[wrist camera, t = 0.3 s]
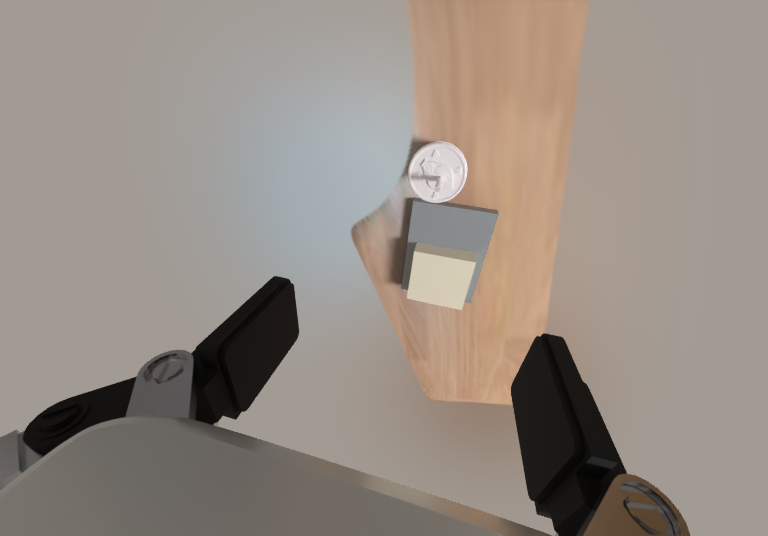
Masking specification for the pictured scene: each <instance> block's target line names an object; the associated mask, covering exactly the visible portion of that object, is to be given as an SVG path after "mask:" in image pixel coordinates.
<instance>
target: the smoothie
mask: <svg viewBox="0 0 768 536" xmlns="http://www.w3.org/2000/svg"><path fill="white" fill-rule="evenodd" d="M466 177H467V162H466V160H465V157H464V155H463V154H462V152H461V151H460V150H459V149H458V148H457V147H455V146H454V145H453V144H450V143H447V142H444V141H435V142H431V143H428V144H426V145H424V146H423V147H421V148H420V149H419V150H418V151H417V152H416V153H415V154H414V156H413V158H412V159H411V162H410V165H409V168H408V180H409V184H410V186H411V188H412V190H413V192H414V193H415V194H416V195H417V196H418V197H419V198H421V199H422V200H424V201H427V202H431V203H441V202H445V201H448V200H450V199H452V198H453V197H455V196H456V195H457V194H458V193H459V192H460V191H461V189H462V188H463V186H464V184H465V181H466Z"/></svg>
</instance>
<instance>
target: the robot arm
mask: <svg viewBox="0 0 768 536" xmlns="http://www.w3.org/2000/svg"><path fill="white" fill-rule="evenodd" d="M298 335H299V326H298V317H297V309H296V300H295V291H294V285H293V284H292V283H291V282H290V280H289V279H287V278H282V277H277V276H275V277H273V278H272V279H270V280H269V281H268V282H267V283H266V284H265V285H264V286H263V287H262V288H261V289H259V290H258V291H257V292H256V293H255V294H254V295H253V296H252V297H251V298H250V299H249V300H247V301H246V302H245V303H244V304H243V305H242V306H241V307H240V308H239V309H237V310H236V311H235V312H234V313H233V314H232V315H231V316H230V317H229V318H228V319H227V320H225V321H224V322H223V323H222V324H221V325H220V326H219V327H218V328H217V329H216V330H214V331H213V332H212V333H211V334H210V335H209V336H208V337H207V338H206V339H205V340H203V341H202V342H201V343H200V344H199V345H198V346H197V347H196V349H195V350H194V351H193V352H192V353H190V352H187V351H185V350H173V351H168V352H165V353H162V354H160V355H158V356H156V357H154V358H153V359H151V360H150V361H148V362H147V363H146V364H145V365H144V366H143V367H142V368H141V369H140V371H139V373H138V375H137V377H134V378H131V379H128V380H125V381H122V382H118V383H115V384H112V385H109V386H106V387H103V388H100V389H96V390H93V391H90V392H87V393H84V394H81V395H77V396H74V397H71V398H68V399H66V400H63V401H60V402H58V403H56V404H55V405H53V406H51V407H49V408H47V409H46V410H45V411H43V412H42V413H40V414H39V415H38V416H37V417H36V418H35V419H34V420H33V421H32V422H31V423H30V424H29V425H28V426H27V428H26V430H25V431H23V432H21V433H20V432H19V431H17V430H15V431H13V432H11V433H9V434H7V435H5V436H3V437H0V536H551V535H549V534H546V533H544V532H541V531H538V530H535V529H532V528H529V527H526V526H524V525H520V524H518V523H515V522H512V521H509V520H506V519H503V518H501V517H497V516H494V515H492V514H489V513H486V512H483V511H480V510H477V509H474V508H471V507H468V506H465V505H462V504H459V503H456V502H453V501H450V500H447V499H444V498H440V497H437V496H434V495H431V494H428V493H425V492H422V491H419V490H416V489H413V488H410V487H407V486H404V485H400V484H397V483H394V482H391V481H388V480H385V479H382V478H379V477H376V476H373V475H369V474H366V473H364V472H360V471H357V470H354V469H351V468H348V467H345V466H342V465H339V464H336V463H332V462H329V461H326V460H323V459H320V458H317V457H314V456H311V455H307V454H304V453H301V452H298V451H295V450H291V449H288V448H285V447H282V446H279V445H276V444H273V443H269V442H266V441H263V440H260V439H257V438H254V437H251V436H247V435H244V434H241V433H238V432H234V431H231V430H227V429H224V428H221V427H218V421H219V420H220V419H221V417H222V416H226V417H229V418H232V419H237V418H238V416H239V415H240V413H241V412H242V411H243V412H244V411H246V410H247V409H248V408H249V407H250V405H251V404H252V402H253V401H254V399H255V398H256V397H257V395H258V394H259V392H260V391H261V390H262V388H263V387H264V385H265V384H266V383H267V381H268V380H269V378H270V377H271V375H272V374H273V372H274V371H275V370H276V368H277V367H278V365H279V364H280V363H281V361H282V360H283V358H284V357H285V356H286V354H287V353H288V351H289V350H290V348H291V347H292V345H293V344H294V343H295V341H296V340H297V338H298ZM511 396H512V402H513V408H514V414H515V420H516V425H517V432H518V437H519V443H520V449H521V455H522V461H523V466H524V472H525V479H526V485H527V491H528V495H529V498H530V499H531V500H532V501H535V506H536V512H537V514H538V515H541V516H544V517H547V518H551V519H552V521H553V526H554V530H555V531H556V532H557V533H556V534H555V536H690V533H689V530H688V527H687V524H686V522H685V520H684V519H683V517H682V515H681V513H680V512H679V510H678V509H677V508H676V506H675V505H674V504H673V503H672V502H671V500H670V499H669V498H668V497H667V496H666V495H665V494H663V493H662V492H661V491H660V490H659V489H658V488H656V487H655V486H654V485H652V484H651V483H649V482H648V481H646V480H644V479H642V478H640V477H638V476H636V475H631V474H627V473H626V470H625V468H624V466H623V463H622V461H621V459H620V457H619V454H618V452H617V450H616V448H615V446H614V443H613V441H612V439H611V437H610V434H609V432H608V430H607V428H606V425H605V423H604V421H603V419H602V416H601V414H600V412H599V410H598V407H597V405H596V403H595V401H594V399H593V396H592V394H591V392H590V390H589V388H588V386H587V384H586V383H584V382H583V381H582V379H581V377H580V374H579V372H578V370H577V367H576V365H575V363H574V361H573V358H572V356H571V354H570V351H569V349H568V347H567V345H566V342H565V340H564V339H563V338H562V337H559V336H554V335H550V334H542V335H541V337H539V336H537V337H536V338H535V339H534V341H533V343H532V345H531V347H530V349H529V351H528V353H527V355H526V357H525V359H524V361H523V363H522V365H521V367H520V369H519V371H518V373H517V375H516V377H515V379H514V381H513V383H512V386H511Z"/></svg>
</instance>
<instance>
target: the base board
mask: <svg viewBox="0 0 768 536" xmlns="http://www.w3.org/2000/svg"><path fill="white" fill-rule="evenodd" d="M497 217H498V211H497V210H491V209H485V208H478V207H471V206H465V205H458V204H452V203H445V202H441V203H431V202H427V201H424V200H422V199H419V198H414V200H413V205H412V213H411V220H410V227H409V234H408V242H407V249H406V256H405V263H404V271H403V278H402V285H401V289H405V290H408V294H407V299H412V300H416V301H421V302H426V303H430V304H435V305H440V306H445V307H449V308H454V309H459V310H462V308H463V305H464V302H468V303H470V302H471V299H472V296H473V293H474V290H475V286H476V283H477V280H478V277H479V274H480V271H481V268H482V264H483V261H484V258H485V255H486V252H487V249H488V246H489V242H490V239H491V236H492V233H493V230H494V227H495V224H496V220H497Z"/></svg>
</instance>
